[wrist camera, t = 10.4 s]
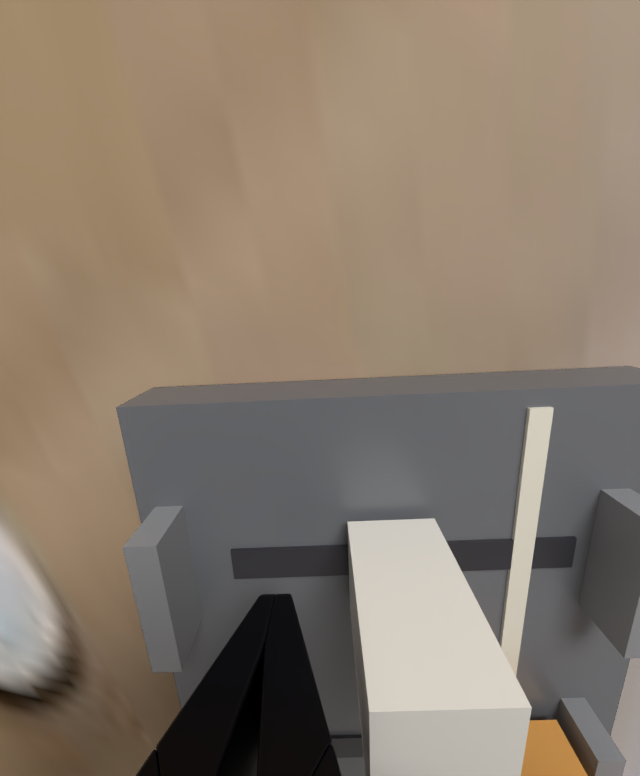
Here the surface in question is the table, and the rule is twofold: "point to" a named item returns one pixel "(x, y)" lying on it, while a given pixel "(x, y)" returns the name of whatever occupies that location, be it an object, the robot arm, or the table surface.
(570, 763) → the fader orange
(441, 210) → the table surface
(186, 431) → the panel
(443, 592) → the block
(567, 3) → the table surface
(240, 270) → the table surface
